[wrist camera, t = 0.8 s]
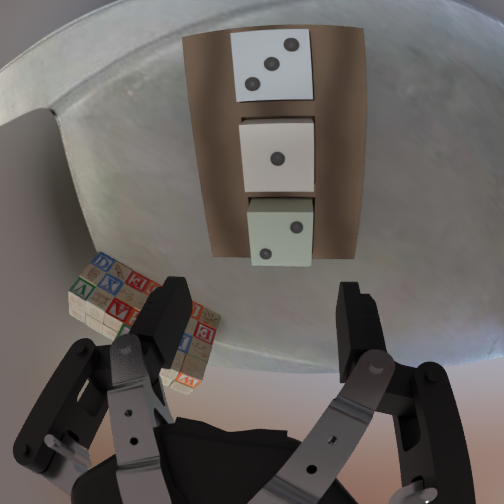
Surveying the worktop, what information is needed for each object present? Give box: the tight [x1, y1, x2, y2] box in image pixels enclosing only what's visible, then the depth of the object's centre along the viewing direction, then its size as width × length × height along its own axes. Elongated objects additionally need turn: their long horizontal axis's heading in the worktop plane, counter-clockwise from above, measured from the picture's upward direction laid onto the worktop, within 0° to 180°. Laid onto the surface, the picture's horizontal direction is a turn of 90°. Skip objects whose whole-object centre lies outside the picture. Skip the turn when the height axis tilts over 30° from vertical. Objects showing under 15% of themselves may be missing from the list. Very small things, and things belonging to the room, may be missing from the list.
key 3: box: [230, 29, 313, 102], centre depth 19 cm, size 6×6×3 cm
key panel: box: [182, 25, 366, 259], centre depth 26 cm, size 16×24×3 cm, turn 4°
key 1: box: [239, 118, 314, 192], centre depth 24 cm, size 6×6×3 cm
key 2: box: [247, 198, 313, 267], centre depth 28 cm, size 6×6×3 cm
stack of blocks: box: [69, 252, 220, 395], centre depth 38 cm, size 21×6×12 cm, turn 62°
